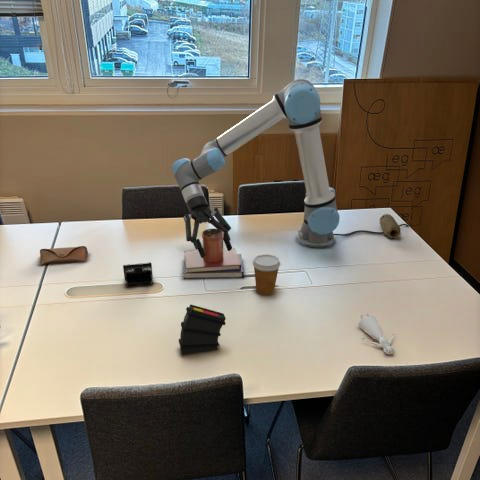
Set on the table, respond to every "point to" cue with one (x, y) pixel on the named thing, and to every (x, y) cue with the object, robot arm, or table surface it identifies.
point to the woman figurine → (375, 333)
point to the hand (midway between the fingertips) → (217, 253)
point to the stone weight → (389, 226)
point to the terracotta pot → (213, 245)
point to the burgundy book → (200, 265)
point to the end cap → (138, 274)
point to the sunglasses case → (63, 255)
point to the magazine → (200, 330)
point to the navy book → (215, 273)
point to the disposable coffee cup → (265, 273)
